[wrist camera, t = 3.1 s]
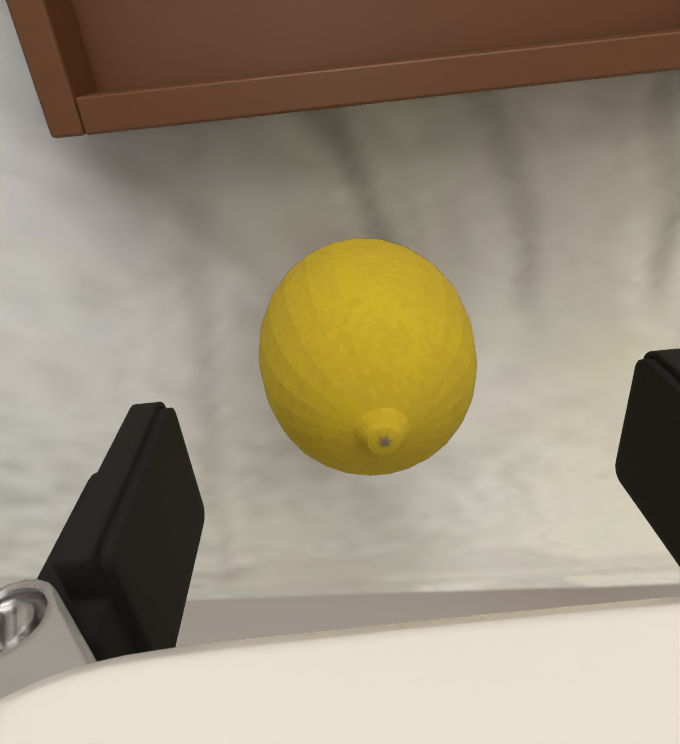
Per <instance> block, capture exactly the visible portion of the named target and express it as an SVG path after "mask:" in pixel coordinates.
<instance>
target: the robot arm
mask: <svg viewBox="0 0 680 744" xmlns="http://www.w3.org/2000/svg"><path fill="white" fill-rule="evenodd" d="M615 468H616V474H617V477H618V479H619V481H620V483H621V484H622V486H623V487H624V488H625V490H626V491H627V493H628V494H629V495H630V497H631V498H632V500H633V501H634V503H635V504H636V505H637V507H638V508H639V510H640V511H641V512H642V514H643V515H644V517H645V518H646V520H647V521H648V522H649V524H650V525H651V527H652V528H653V529H654V531H655V532H656V534H657V535H658V537H659V538H660V539H661V541H662V542H663V544H664V545H665V546H666V548H667V549H668V551H669V552H670V554H671V555H672V556H673V558H674V559H675V561H676V562H677V563H678V565H679V566H680V349H668V350H659V351H650V352H648V353H646V355H645V356H644V359H641V360H639V361H638V362H637V363H636V366H635V370H634V375H633V380H632V385H631V390H630V394H629V399H628V404H627V409H626V414H625V419H624V424H623V429H622V434H621V439H620V443H619V448H618V453H617V458H616V464H615ZM203 524H204V506H203V502H202V499H201V495H200V492H199V489H198V485H197V482H196V479H195V475H194V472H193V469H192V465H191V462H190V459H189V455H188V452H187V448H186V445H185V442H184V438H183V435H182V432H181V428H180V425H179V422H178V418H177V415H176V412H175V410H174V409H173V408H166V406H165V405H164V403H162V402H153V403H143V404H135V405H132V406H131V408H130V410H129V411H128V413H127V415H126V417H125V419H124V421H123V423H122V425H121V427H120V429H119V431H118V433H117V435H116V437H115V439H114V441H113V443H112V445H111V447H110V449H109V451H108V453H107V455H106V457H105V459H104V461H103V463H102V465H101V467H100V469H99V470H98V472H97V473H95V474H93V475H92V476H91V477H90V479H89V480H88V482H87V484H86V486H85V488H84V490H83V492H82V493H81V495H80V497H79V499H78V501H77V503H76V505H75V507H74V509H73V511H72V513H71V515H70V516H69V518H68V520H67V522H66V524H65V526H64V528H63V530H62V532H61V534H60V536H59V538H58V540H57V541H56V543H55V545H54V547H53V549H52V551H51V553H50V555H49V557H48V559H47V561H46V563H45V565H44V566H43V568H42V570H41V572H40V574H39V576H38V578H37V579H34V580H22V581H18V582H15V583H11V584H8V585H6V586H4V587H2V588H0V744H680V596H677V597H666V598H655V599H644V600H633V601H622V602H611V603H600V604H589V605H578V606H568V607H558V608H547V609H537V610H528V611H516V612H506V613H495V614H485V615H475V616H466V617H455V618H444V619H436V620H435V619H434V620H424V621H414V622H404V623H394V624H384V625H375V626H366V627H356V628H345V629H336V630H326V631H316V632H307V633H298V634H287V635H277V636H268V637H259V638H250V639H242V640H235V641H234V640H233V641H225V642H217V643H208V644H200V645H192V646H184V647H175V646H176V641H177V637H178V633H179V628H180V624H181V620H182V616H183V611H184V607H185V603H186V598H187V594H188V590H189V585H190V581H191V577H192V572H193V568H194V564H195V559H196V555H197V551H198V546H199V542H200V537H201V533H202V529H203Z"/></svg>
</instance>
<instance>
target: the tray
mask: <svg viewBox="0 0 680 744" xmlns="http://www.w3.org/2000/svg"><path fill="white" fill-rule="evenodd" d="M6 2H7V5H8V8H9V11H10V14H11V17H12V20H13V23H14V26H15V29H16V32H17V35H18V38H19V41H20V44H21V47H22V50H23V53H24V56H25V59H26V62H27V65H28V68H29V71H30V74H31V77H32V80H33V83H34V86H35V89H36V92H37V95H38V98H39V101H40V104H41V107H42V110H43V113H44V116H45V119H46V122H47V125H48V127H49V130H50V133H51V136H52V137H53V138H64V137H73V136H82V135H85V134H88V135H92V134H101V133H110V132H119V131H128V130H137V129H146V128H155V127H164V126H174V125H183V124H192V123H201V122H210V121H219V120H228V119H237V118H246V117H255V116H264V115H273V114H282V113H291V112H300V111H309V110H318V109H327V108H336V107H345V106H354V105H363V104H372V103H381V102H390V101H399V100H408V99H417V98H426V97H435V96H444V95H453V94H462V93H471V92H480V91H489V90H498V89H507V88H516V87H525V86H534V85H543V84H552V83H561V82H570V81H579V80H588V79H597V78H606V77H615V76H624V75H633V74H642V73H651V72H660V71H669V70H678V69H680V0H6Z"/></svg>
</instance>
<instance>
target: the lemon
mask: <svg viewBox="0 0 680 744" xmlns="http://www.w3.org/2000/svg"><path fill="white" fill-rule="evenodd" d="M259 365H260V371H261V375H262V379H263V383H264V387H265V392H266V396H267V399H268V402H269V405H270V407H271V409H272V411H273V413H274V414H275V416H276V418H277V420H278V421H279V423H280V425H281V427H282V428H283V430H284V432H285V433H286V434H287V436H288V437H289V438H290V439H291V440H292V441H293V442H294V443H295V444H296V445H297V446H298V447H299V448H300V449H301V450H302V451H303V452H304V453H306V454H307V455H309V456H310V457H312V458H313V459H315V460H317V461H319V462H320V463H322V464H324V465H325V466H327V467H330V468H333V469H336V470H339V471H342V472H345V473H351V474H361V475H370V476H371V475H382V474H391V473H394V472H398V471H401V470H405V469H408V468H410V467H412V466H414V465H416V464H418V463H420V462H422V461H424V460H426V459H428V458H430V457H431V456H432V455H433V454H434V453H436V452H437V451H438V450H439V449H441V448H442V447H443V446H444V445H446V443H447V442H448V441H449V440H450V438H451V437H452V436H453V434H454V433H455V432H456V431H457V429H458V428H459V426H460V425H461V423H462V422H463V420H464V417H465V415H466V413H467V411H468V408H469V406H470V404H471V401H472V397H473V392H474V385H475V379H476V370H477V359H476V351H475V345H474V338H473V332H472V326H471V323H470V320H469V317H468V315H467V313H466V311H465V309H464V307H463V304H462V302H461V300H460V298H459V296H458V294H457V292H456V290H455V289H454V287H453V286H452V285H451V283H450V282H449V281H448V280H447V279H446V278H445V277H444V276H443V274H442V273H441V272H440V271H439V270H438V269H437V268H436V267H435V266H434V265H433V264H432V263H431V262H429V261H428V260H426V259H425V258H423V257H421V256H420V255H418V254H417V253H415V252H413V251H412V250H410V249H409V248H407V247H404V246H401V245H398V244H394V243H391V242H388V241H385V240H381V239H363V238H354V239H349V240H345V241H340V242H335V243H331V244H329V245H327V246H325V247H323V248H321V249H319V250H317V251H315V252H312V253H310V254H309V255H308V256H306V257H305V258H304V259H303V260H302V261H300V262H299V263H298V264H297V265H296V266H294V267H293V268H292V269H291V270H290V271H289V272H288V273H287V275H286V276H285V277H284V279H283V280H282V282H281V283H280V285H279V286H278V288H277V289H276V290H275V292H274V293H273V295H272V297H271V300H270V302H269V305H268V308H267V311H266V314H265V316H264V319H263V322H262V326H261V333H260V349H259Z"/></svg>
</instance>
